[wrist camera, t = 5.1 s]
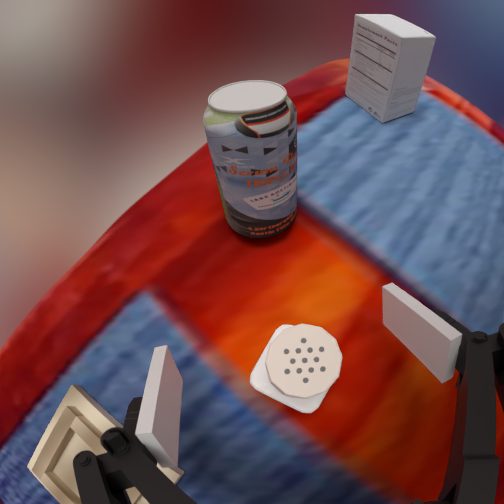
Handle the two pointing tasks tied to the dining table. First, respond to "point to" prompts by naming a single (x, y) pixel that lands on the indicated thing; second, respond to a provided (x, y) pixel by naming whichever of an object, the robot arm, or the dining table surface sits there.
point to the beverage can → (254, 155)
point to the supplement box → (387, 65)
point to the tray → (77, 446)
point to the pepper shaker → (298, 366)
